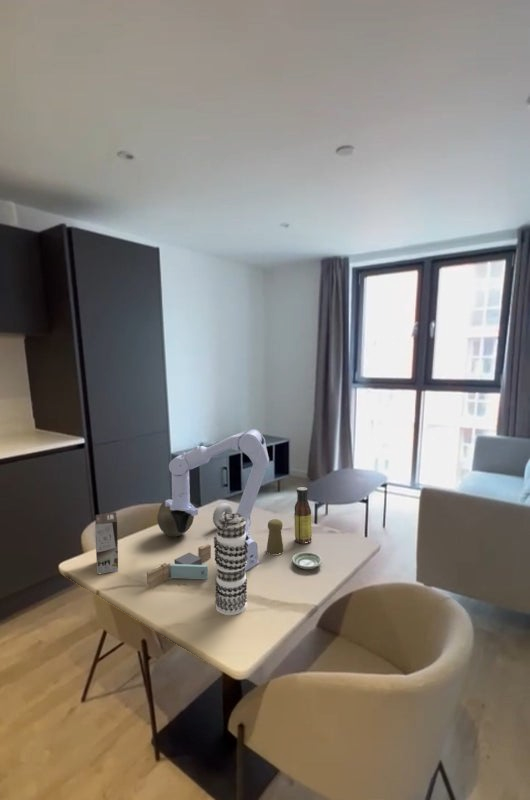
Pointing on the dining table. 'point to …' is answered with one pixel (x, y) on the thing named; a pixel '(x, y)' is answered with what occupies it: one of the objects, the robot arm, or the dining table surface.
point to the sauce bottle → (302, 517)
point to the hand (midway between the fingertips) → (181, 531)
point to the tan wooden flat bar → (162, 572)
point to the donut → (221, 511)
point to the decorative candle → (231, 564)
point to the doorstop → (189, 559)
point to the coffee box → (106, 542)
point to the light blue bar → (188, 571)
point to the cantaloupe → (170, 521)
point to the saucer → (306, 560)
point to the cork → (275, 537)
